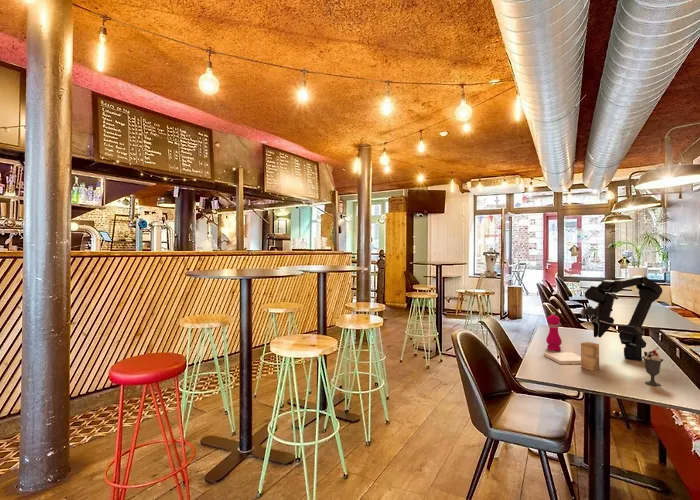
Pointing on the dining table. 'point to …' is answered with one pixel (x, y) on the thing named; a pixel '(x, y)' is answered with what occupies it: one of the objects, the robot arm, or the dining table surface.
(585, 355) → the oak block
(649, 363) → the sundae
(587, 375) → the dining table surface
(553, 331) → the pepper mill
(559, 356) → the plate
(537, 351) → the dining table surface
